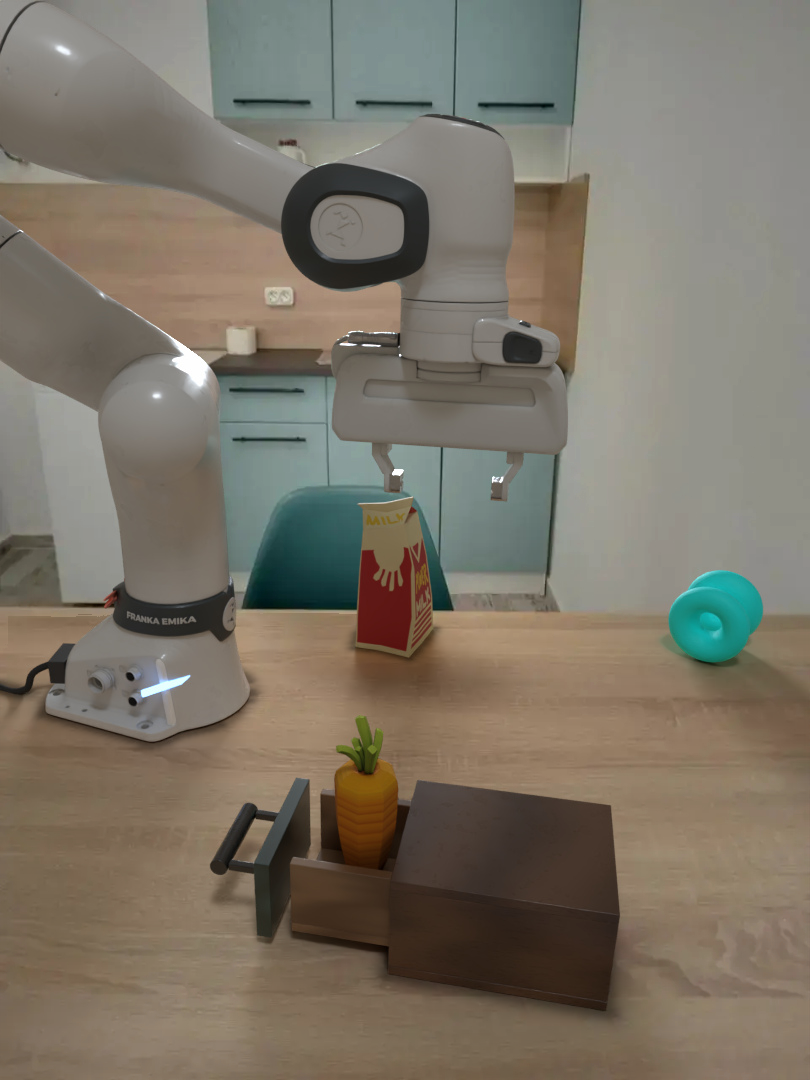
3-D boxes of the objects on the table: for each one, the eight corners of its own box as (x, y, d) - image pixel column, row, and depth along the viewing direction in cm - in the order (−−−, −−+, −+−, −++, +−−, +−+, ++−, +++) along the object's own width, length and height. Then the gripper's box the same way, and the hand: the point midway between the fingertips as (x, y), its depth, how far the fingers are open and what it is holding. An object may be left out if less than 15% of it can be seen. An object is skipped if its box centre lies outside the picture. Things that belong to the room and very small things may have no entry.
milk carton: (433, 628, 114) (438, 488, 107) (411, 658, 105) (416, 509, 98) (371, 617, 116) (372, 480, 109) (345, 646, 108) (345, 500, 101)
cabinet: (388, 974, 61) (390, 880, 58) (414, 863, 71) (417, 779, 68) (606, 1011, 58) (620, 915, 55) (599, 890, 69) (611, 804, 66)
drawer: (203, 927, 63) (198, 855, 61) (251, 835, 73) (248, 770, 70) (447, 967, 60) (451, 893, 58) (463, 867, 70) (467, 800, 67)
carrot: (389, 916, 63) (392, 749, 58) (326, 905, 64) (324, 739, 59) (402, 870, 68) (406, 711, 62) (343, 861, 68) (342, 703, 63)
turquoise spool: (660, 652, 109) (670, 582, 105) (684, 625, 116) (694, 559, 113) (739, 675, 103) (752, 603, 100) (758, 646, 111) (771, 577, 108)
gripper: (321, 333, 67) (322, 496, 72) (577, 345, 64) (560, 515, 69) (340, 326, 73) (340, 477, 78) (576, 336, 70) (561, 493, 75)
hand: (445, 495), depth 73 cm, fingers open, 8 cm apart
